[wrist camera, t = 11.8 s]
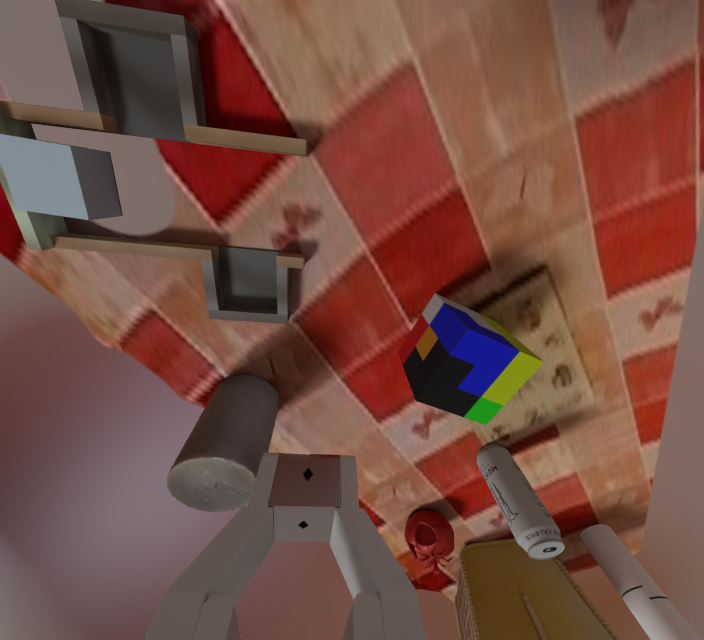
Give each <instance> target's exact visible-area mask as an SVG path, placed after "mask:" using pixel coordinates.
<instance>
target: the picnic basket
mask: <svg viewBox="0 0 704 640" xmlns="http://www.w3.org/2000/svg"><path fill="white" fill-rule="evenodd" d="M460 565H461V568H460V576H459V584H458V592H457V594H456V597H455V610H456V617H457V624H458V630H459V636H460V640H620V638H619V637H618V636H617V634H616V633H615V632H614V631H613V629H612V628H611V627H610V625H609V624H608V623H607V621H606V620H605V619H604V618H603V616H602V615H601V614H600V613H599V611H598V610H597V609H596V607H595V606H594V605H593V604H592V602H591V601H590V600H589V598H588V597H587V596H586V595H585V593H584V592H583V591H582V590H581V588H580V587H579V586H578V584H577V583H576V582H575V581H574V579H573V578H572V577H571V575H570V574H569V573H568V571H567V570H566V569H565V568H564V566H563V565H562V564H561V562H560V561H559V560H558V559H557V557H556V556H555V557H552V558H549V559H544V560H535V559H532V558H530V557H529V555H528V552H526V551H525V550H524V549H523V548H522V547H521V546H520V545H519V544H518V543H517V541H516V539H515V538H510V539H502V540H494V541H486V542H478V543H472V544H469V545H467V546H465V547H464V548H463V549H462V551H461V553H460Z"/></svg>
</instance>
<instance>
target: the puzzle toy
mask: <svg viewBox="0 0 704 640" xmlns="http://www.w3.org/2000/svg"><path fill="white" fill-rule="evenodd" d="M398 354H399V357H400V360H401V362H402V365H403V368H404V370H405V373H406V376H407V378H408V381H409V384H410V386H411V389H412V392H413V394H414V397H415V400H416V401H418V402H421V403H424V404H427V405H430V406H433V407H436V408H438V409H441V410H444V411H447V412H450V413H453V414H456V415H459V416H462V417H465V418H467V419H470V420H473V421H476V422H479V423H482V424H485V425H486V424H487V423H488V422H489V421H490V420H491V419H492V418H493V417H494V416H495V415H496V414H497V412H498V411H499V410H500V409H501V408H502V407H503V406H504V405H505V404H506V403H507V401H508V400H509V399H510V398H511V397H512V396H513V395H514V394H515V393H516V392H517V391H518V389H519V388H520V387H521V386H522V385H523V384H524V383H525V382H526V381H527V380H528V379H529V377H530V376H531V375H532V374H533V373H534V372H535V371H536V370H537V369H538V368H539V366H540V365H541V364H542V363H543V361H542V360H541V359H540V358H539V357H537V356H536V355H535V354H534V353H533V352H531V351H530V350H529V349H528V348H527V347H525V346H524V345H523V344H522V343H521V342H519V341H518V340H517V339H516V338H515V337H513V336H512V335H511V334H510V333H509V332H507V331H506V330H505V329H504V328H503V327H501V326H500V325H499V324H498V323H497V322H496V321H494V320H492V319H490V318H488V317H486V316H483V315H481V314H479V313H477V312H475V311H473V310H470V309H468V308H466V307H464V306H462V305H460V304H457V303H455V302H453V301H451V300H449V299H447V298H444V297H442V296H440V295H438V294H436V293H435V294H434V296H433V297H432V299H431V300H430V302H429V304H428V305H427V307H426V308H425V310H424V312H423V313H422V315H421V316H420V318H419V319H418V321H417V323H416V324H415V326H414V327H413V329H412V331H411V332H410V334H409V335H408V337H407V338H406V340H405V342H404V343H403V345H402V346H401V348H400V350H399V351H398Z"/></svg>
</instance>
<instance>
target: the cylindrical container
mask: <svg viewBox="0 0 704 640" xmlns="http://www.w3.org/2000/svg"><path fill="white" fill-rule="evenodd" d="M580 539H581V540H582V541H583V543H584V544H585V546H586V547H587V549H588V550H589V551H590V553H591V554H592V556H593V557H594V559H595V560H596V562H597V563H598V564H599V566H600V567H601V569H602V570H603V572H604V573H605V574H606V576H607V577H608V579H609V580H610V582H611V583H612V584H613V586H614V587H615V589H616V590H617V592H618V593H619V594H620V596H621V597H622V598H623V600H624V602H625V603H626V605H627V606H628V607H629V609H630V610H631V612H632V613H633V615H634V616H635V618H636V619H637V620H638V622H639V623H640V625H641V626H642V628H643V629H644V630H645V632H646V633H647V635H648V636H649V638H650V639H651V640H700V638H699V637H698V636H697V635H696V633H695V632H694V631H693V630H692V628H691V627H690V626H689V625H688V623H687V622H686V621H685V620H684V618H683V617H682V616H681V615H680V613H679V612H678V611H677V610H676V608H675V607H674V606H673V605H672V604H671V602H670V601H669V600H668V599H667V597H666V596H665V595H664V594H663V592H662V591H661V590H660V589H659V587H658V586H657V585H656V584H655V582H654V581H653V580H652V579H651V577H650V576H649V575H648V574H647V573H646V571H645V570H644V569H643V568H642V566H641V565H640V564H639V563H638V561H637V560H636V559H635V558H634V556H633V555H632V554H631V553H630V551H629V550H628V549H627V548H626V547H625V545H624V544H623V543H622V542H621V540H620V539H619V538H618V537H617V535H616V534H615V533H614V532H613V530H612V529H611V528H610V527H609V526H608V525H606V524H598V525H594V526H591V527H588V528H586V529H585V530H583V531H582V532H581V533H580Z"/></svg>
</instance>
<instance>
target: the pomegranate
mask: <svg viewBox="0 0 704 640" xmlns="http://www.w3.org/2000/svg"><path fill="white" fill-rule="evenodd" d="M405 540H406V543H407V545H408V546H409V549H410V551H411V552H412V554H413V555H414V557H415V559H417V560H418V561H420V562H424V561H427V560H429V565H428V566H427V567H425V570H426V569H427V568H430V567H431V565H432V563H433V566H434V574H439V573H440V570H439V569H438V565H437V563H439V564H440V565H441V566H442V567H443V566H445V565H442V564H441V563H440V561H439V559H442V560H444V561H446V562H449V561H450V560H451V559H452V558H453V557H452V558H450V559H449V560H446V559H445V558H444V557H446V556H448V555H449V554H451V553H452V552H453V550H454V532H453V528H452V527H451V525H450V524H449V522H448V521H447V520H446V519H445V518H444V517H443V516H442V515H441V514H439V513H437V512H435V511H432V510H421V511H418V512H416V513H414V514H413V515H412V516H411V517H410V518H409V519H408V520H407V523H406V528H405ZM454 557H455V556H454Z"/></svg>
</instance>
